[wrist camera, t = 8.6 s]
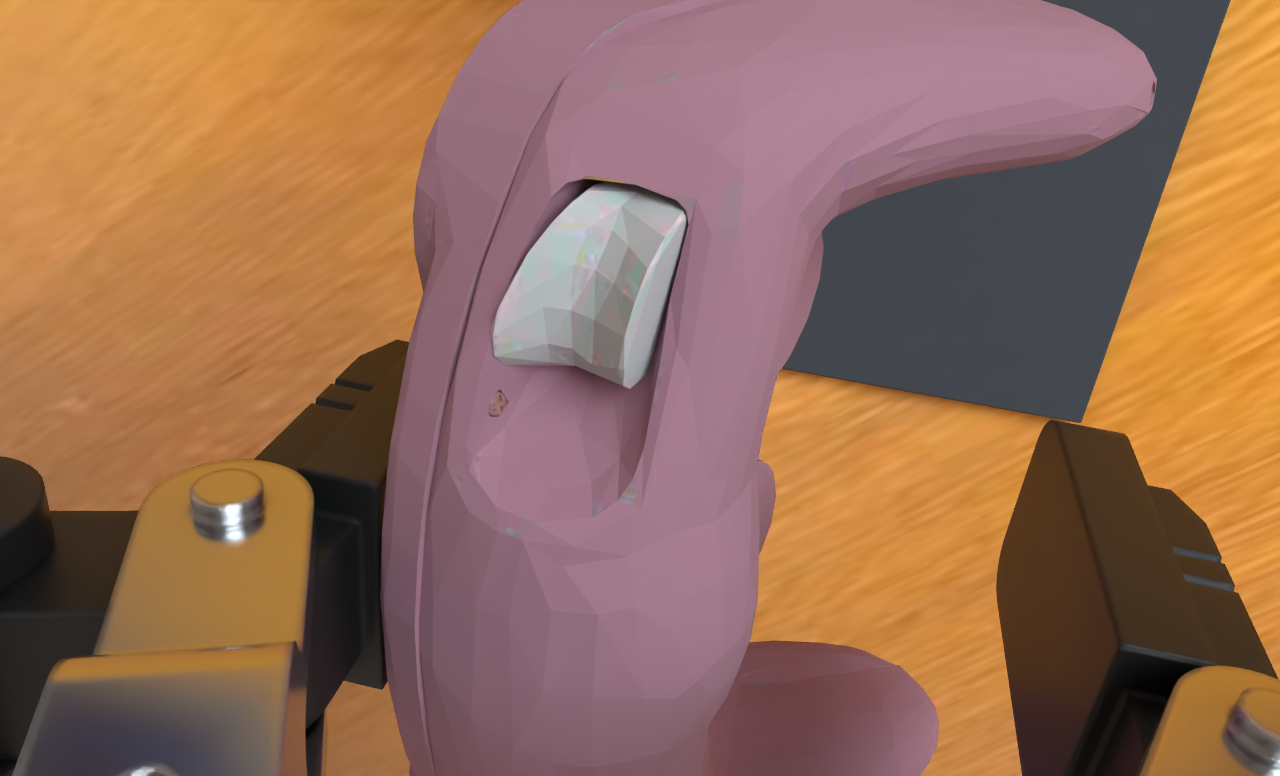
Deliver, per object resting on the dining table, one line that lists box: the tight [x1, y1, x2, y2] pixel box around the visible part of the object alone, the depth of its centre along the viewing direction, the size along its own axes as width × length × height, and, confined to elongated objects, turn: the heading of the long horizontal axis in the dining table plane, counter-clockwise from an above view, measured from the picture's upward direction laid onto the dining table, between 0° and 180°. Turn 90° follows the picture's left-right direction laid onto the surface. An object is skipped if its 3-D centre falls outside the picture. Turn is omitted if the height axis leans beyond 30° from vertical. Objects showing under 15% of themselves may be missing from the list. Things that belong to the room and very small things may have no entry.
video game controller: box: [380, 0, 1157, 776], centre depth 11 cm, size 10×5×7 cm, turn 174°
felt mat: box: [782, 0, 1230, 423], centre depth 25 cm, size 14×14×1 cm
